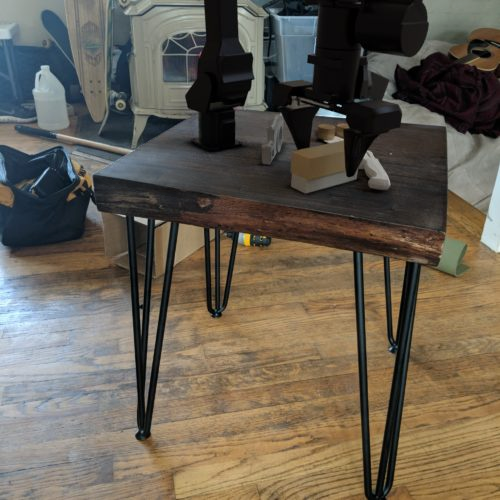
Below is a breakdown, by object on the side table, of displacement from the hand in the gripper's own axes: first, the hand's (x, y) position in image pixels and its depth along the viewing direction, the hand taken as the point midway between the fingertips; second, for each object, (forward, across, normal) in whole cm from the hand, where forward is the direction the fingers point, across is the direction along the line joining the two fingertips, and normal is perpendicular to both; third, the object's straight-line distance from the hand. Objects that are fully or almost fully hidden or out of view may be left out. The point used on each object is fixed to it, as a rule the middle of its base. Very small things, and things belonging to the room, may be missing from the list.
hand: (326, 166), depth 72 cm
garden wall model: (+3, +14, -2) cm, 15 cm away
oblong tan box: (+2, 0, 0) cm, 2 cm away
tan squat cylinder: (+2, +15, -15) cm, 21 cm away
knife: (+3, +6, -11) cm, 13 cm away
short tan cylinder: (+2, +15, -19) cm, 25 cm away
